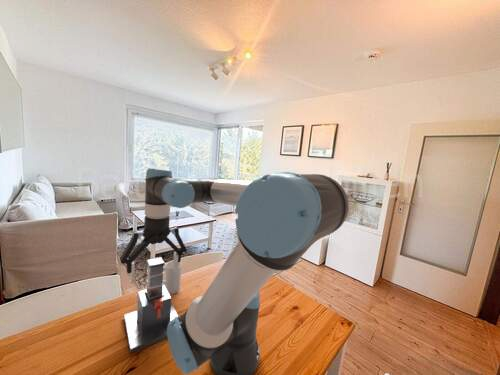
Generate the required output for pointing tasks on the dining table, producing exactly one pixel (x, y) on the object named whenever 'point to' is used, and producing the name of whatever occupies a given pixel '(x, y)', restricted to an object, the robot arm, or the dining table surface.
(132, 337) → the sleeve
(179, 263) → the mug
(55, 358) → the dining table surface
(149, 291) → the column
